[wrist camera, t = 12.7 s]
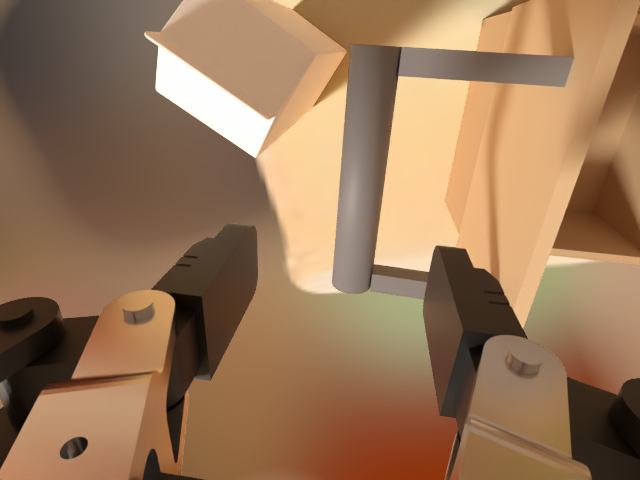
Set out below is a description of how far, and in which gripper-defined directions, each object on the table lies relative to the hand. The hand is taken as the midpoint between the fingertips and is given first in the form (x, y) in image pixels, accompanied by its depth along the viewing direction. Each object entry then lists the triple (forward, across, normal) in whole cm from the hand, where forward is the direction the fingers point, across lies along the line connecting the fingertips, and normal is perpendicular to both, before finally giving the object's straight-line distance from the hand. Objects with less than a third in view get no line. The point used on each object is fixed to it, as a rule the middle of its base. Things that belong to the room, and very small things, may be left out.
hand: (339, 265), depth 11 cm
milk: (+29, +6, -4) cm, 30 cm away
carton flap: (+12, -8, 0) cm, 14 cm away
